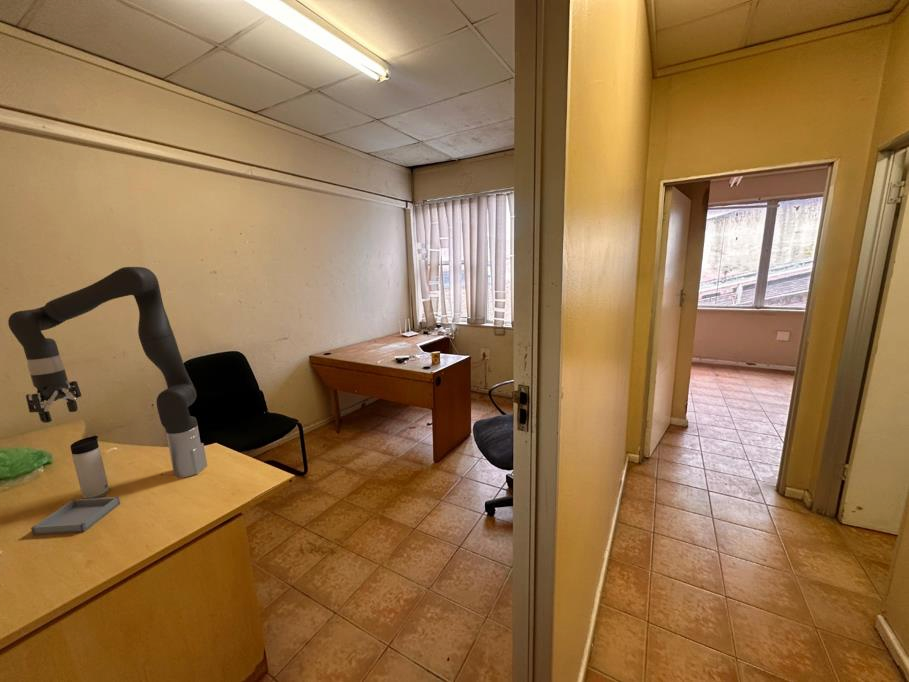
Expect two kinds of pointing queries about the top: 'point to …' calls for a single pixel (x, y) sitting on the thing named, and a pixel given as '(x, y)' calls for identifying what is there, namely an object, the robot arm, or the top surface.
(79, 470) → the travel mug
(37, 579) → the top surface
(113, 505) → the tray
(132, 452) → the top surface
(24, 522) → the top surface
